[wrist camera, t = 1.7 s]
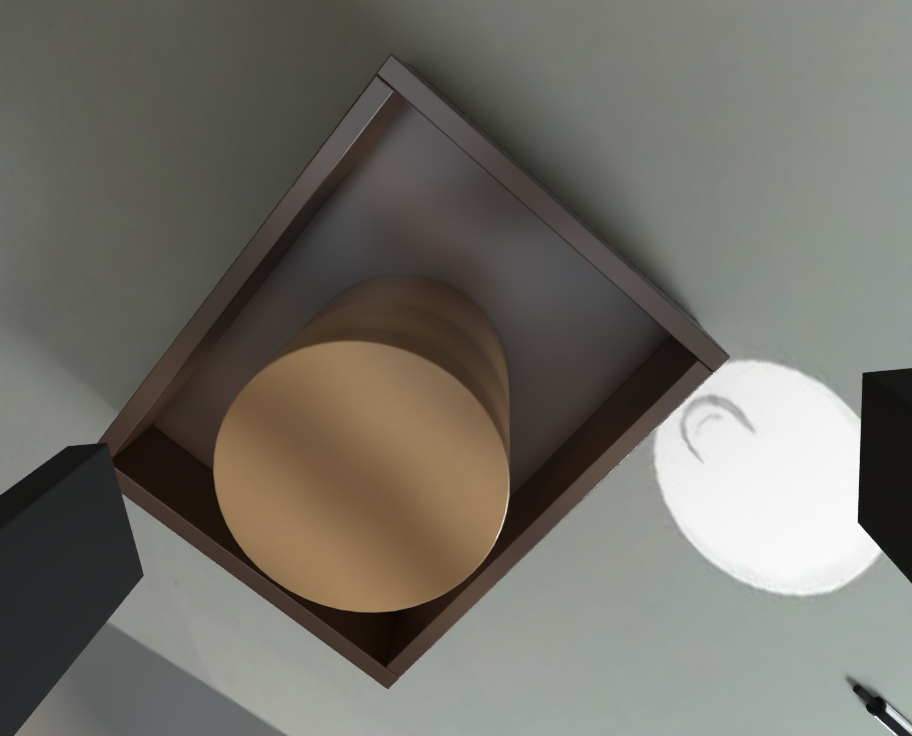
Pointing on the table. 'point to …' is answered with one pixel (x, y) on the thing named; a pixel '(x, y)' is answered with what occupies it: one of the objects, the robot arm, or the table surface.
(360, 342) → the tan round tin
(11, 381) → the table surface
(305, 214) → the dark wooden tray
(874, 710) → the pen
